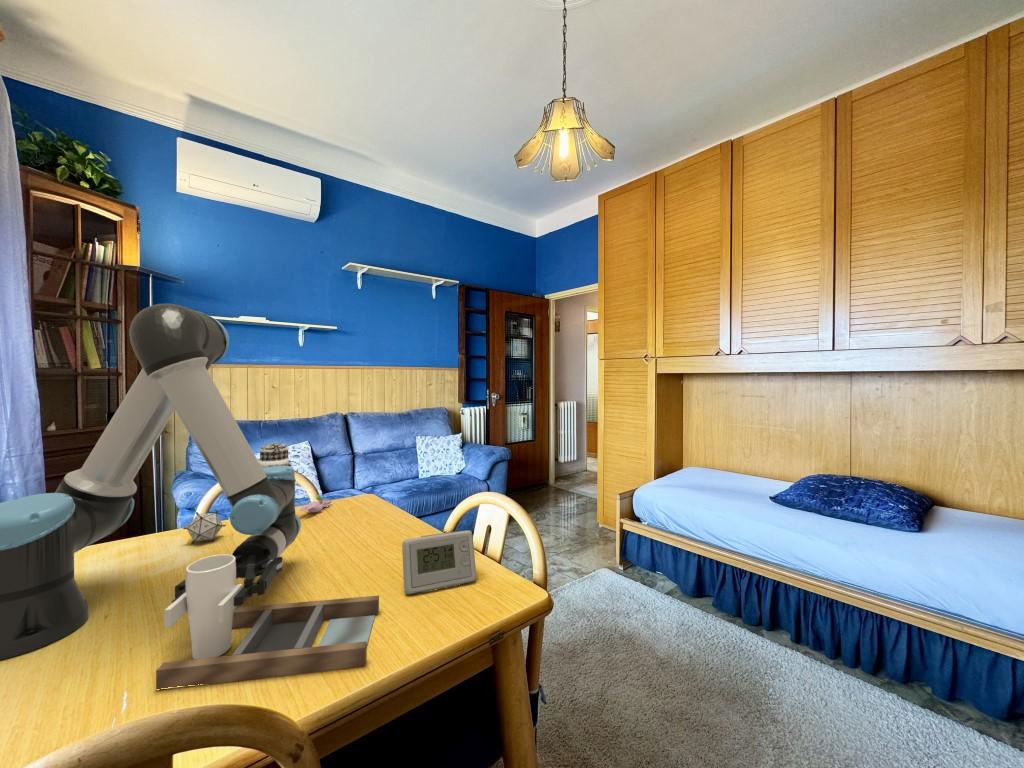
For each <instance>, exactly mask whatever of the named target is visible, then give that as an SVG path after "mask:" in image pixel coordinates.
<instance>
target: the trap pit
mask: <svg viewBox="0 0 1024 768" xmlns="http://www.w3.org/2000/svg"><path fill="white" fill-rule="evenodd" d="M323 622H324V620H323V605H317V606H316V607H315V609H314V611H313V613H312V615H311V617H310V619H309V621H298V622H287V623H277V624H272V609H271V610H265V611H264V612H263V614H262V615H261V616H260V618H259V619H258V620H257V622H256V623H255V625H254V626H253V627H251V628H250V630H249V631H248V633H246V635H245V637H243V639H242V641H241V642H240V644H239V645H238V646H237V647H236V649H235V650H234V652H233V653H232V654H231V656H232V655H241V654H251V653H260V652H270V651H279V650H289V649H298V648H308V647H313V644H314V642H315V639H316V638H317V636H318V633H319V631H320V629H321V627H322V625H323Z"/></svg>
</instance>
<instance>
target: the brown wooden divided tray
mask: <svg viewBox="0 0 1024 768" xmlns="http://www.w3.org/2000/svg"><path fill="white" fill-rule="evenodd" d="M317 605H323V621H329V622H328V623H327V626H326V628H325V630H324V633H323V634H322V638H321V639H320V642H319V644H318V646H311V647H308V648H298V649H289V650H279V651H270V652H260V653H251V654H241V655H232V654H231V655H225V656H224V655H221V656H219V657H213V658H203V659H186V660H178V661H177V660H176V661H166V662H163V663H162V664H161V665H159V667H158V668H156V669H155V688H156V689H161V688H168V687H177V686H188V685H198V684H199V685H200V684H204V685H203V686H206V685H205V684H209V685H217V684H218V685H219V684H226V683H225V682H227V683H235V682H242V681H250V680H251V681H253V680H259V679H267V678H278V677H286V676H294V675H303V674H304V675H305V674H311V673H313V674H314V673H321V672H330V671H337V670H348V669H353V668H356V669H357V668H361V667H362V668H363V667H366V663H367V660H368V657H367V655H368V650H367V649H368V648H367V647H368V643H369V641H370V636H371V632H372V628H373V626H374V620H375V617H376V616H379V612H380V595H369V596H367V595H366V596H357V597H344V598H334V599H322V600H311V601H299V602H286V603H285V602H284V603H276V604H264V605H263V604H262V605H252V606H242V607H241V606H240V607H239V606H238V607H236V608H235V609H234V613H233V625H232V630H235V629H236V630H238V629H246V628H252V627H253V626H254V625H255V623H256V622H257V620H258V619H259V618H260V616H261V615H262V614H263V612H264V611H265V610H271V609H272V624H277V623H287V622H298V621H309V619H310V617H311V615H312V613H313V611H314V609H315V607H316V606H317ZM232 681H233V682H232ZM234 681H235V682H234ZM156 689H155V690H156Z"/></svg>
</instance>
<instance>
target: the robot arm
mask: <svg viewBox="0 0 1024 768" xmlns="http://www.w3.org/2000/svg"><path fill="white" fill-rule="evenodd" d="M128 332H129V333H128V335H129V340H130V341H129V342H130V345H131V347H132V350H133V352H134V354H135V356H136V358H137V360H138V362H139V364H140V366H141V367H142V368H141V371H140V372H139V374H138V375H137V377H136V379H135V380H134V382H133V383H132V384H131V386H130V388H129V390H128V391H127V393H126V395H125V396H124V397H123V399H122V401H121V403H120V405H119V406H118V408H117V409H116V411H115V412H114V414H113V416H112V417H111V419H110V421H109V423H108V424H107V425H106V427H105V429H104V430H103V432H102V433H101V435H100V437H99V438H98V440H97V442H96V444H95V446H94V447H93V449H92V450H91V452H90V454H89V455H88V457H87V458H86V460H85V461H84V462H83V465H82V467H81V468H78V469H75V470H73V471H70V472H68V473H66V474H65V476H64V477H63V479H62V480H61V482H60V483H59V485H58V487H57V488H56V490H55V491H54V492H47V493H46V492H45V493H38V494H32V495H26V496H22V497H21V496H20V498H16V499H9V500H5V501H2V502H0V661H2V660H5V659H9V658H13V657H16V656H21V655H23V654H26V653H29V652H32V651H34V650H38V649H39V648H43V647H45V646H47V645H50V644H53V643H55V642H57V641H58V640H61V639H62V638H64V637H66V636H68V635H69V634H71V633H73V632H74V631H76V630H77V629H79V628H81V626H83V625H84V624H85V623H86V622H87V620H88V618H89V604H88V601H87V600H86V599H85V598H84V596H83V593H82V591H81V588H80V587H79V585H78V583H77V582H76V578H75V553H77V552H80V551H81V550H82V549H84V548H86V547H89V546H90V545H92V544H94V543H96V542H97V541H100V540H101V539H103V538H106V537H108V536H109V535H111V534H113V533H114V532H116V531H117V530H118V529H119V528H121V527H122V526H123V525H124V524H125V523H126V522H127V521H128V520H129V518H130V517H131V515H132V513H133V511H134V507H135V499H134V498H133V497H134V495H135V494H136V493H137V489H138V486H137V484H136V482H135V481H134V479H135V477H136V476H137V474H138V473H139V470H140V469H141V467H142V465H143V464H144V463H145V461H146V459H147V458H148V456H149V454H150V452H151V451H152V449H153V447H154V445H155V444H156V442H157V441H158V439H159V437H160V435H161V434H162V432H163V430H164V429H165V427H166V426H167V424H168V422H169V421H170V418H171V417H172V416H173V414H174V412H176V413H177V415H178V416H179V418H180V419H181V422H182V423H183V425H184V427H185V429H186V430H187V432H188V434H189V435H190V438H191V439H192V441H193V442H194V444H195V446H196V448H197V449H198V451H199V452H200V455H202V458H203V459H204V462H205V463H206V464H207V466H208V467H209V470H210V471H211V473H212V475H213V477H214V478H215V480H216V482H217V483H218V485H219V487H220V488H221V490H222V492H223V494H224V495H225V497H226V499H227V501H228V503H229V504H230V506H231V511H230V514H229V522H230V525H231V527H232V528H233V529H234V530H235V531H236V532H238V533H240V534H241V535H246V536H248V537H246V539H245V540H244V541H242V542H241V543H240V544H239V545H238V546H236V547H235V549H234V550H233V552H232V554H231V555H233V556H235V558H236V580H238V579H243V583H238V584H236V587H235V588H234V589H233V590H232V591H231V592H230V593H229V594H228V595H227V596H226V597H225V598H224V599H223V600H222V601H221V602H220V604H219V605H218V623H220V622H224V621H225V619H226V618H227V617H228V616H229V615H230V614H231V613H232V611H233V610H234V609H235V608H238V607H239V606H240V607H241V606H242V605H243V604H245V602H246V601H247V600H248V599H250V598H251V597H253V595H255V594H257V596H263V595H265V594H266V592H267V590H268V589H269V587H270V585H271V584H272V583H273V581H274V579H275V578H276V576H277V575H278V574H279V573H281V572H282V571H283V556H281V555H282V554H283V553H284V551H285V550H286V549H287V548H288V547H289V546H290V545H292V544H293V543H294V542H295V540H296V539H297V537H298V535H299V533H300V531H301V529H302V528H301V527H302V524H301V523H302V522H301V520H300V518H299V517H298V515H297V514H296V482H297V480H296V473H295V468H294V467H292V466H271V467H266V468H263V469H262V467H261V465H260V463H259V460H258V458H257V456H256V454H255V453H254V450H253V449H252V447H251V446H250V444H249V443H248V440H247V438H246V437H245V435H244V433H243V430H241V428H240V426H239V424H238V423H237V420H236V418H235V417H234V415H233V413H232V412H231V410H230V408H229V407H228V404H227V402H226V401H225V399H224V397H223V396H222V394H221V393H220V391H219V389H218V387H217V385H216V384H215V381H214V379H213V378H212V376H211V375H210V372H209V369H210V368H211V366H212V365H213V364H216V363H217V362H219V361H220V360H221V359H222V358H224V356H225V355H226V354H227V352H228V350H229V348H230V347H229V346H230V335H229V333H228V331H227V329H226V328H225V327H224V325H223V324H222V323H221V322H220V321H218V320H217V319H216V318H215V317H212V316H210V315H209V314H207V313H204V312H202V311H197V310H194V309H192V308H188V307H185V306H183V305H179V304H174V303H157V304H153V305H152V304H151V305H150V306H147V307H146V308H142V310H140V311H139V312H138V313H137V314H136V315H135V316H134V317H133V319H132V321H131V322H130V325H129V330H128ZM257 577H258V579H257V581H256V578H257ZM166 607H167V608H165V609H164V628H165V629H166V628H171V627H172V626H173V625H174V624H175V623H176V622H178V620H180V619H181V618H182V616H184V615H185V614H186V613H188V610H187V602H186V591H185V579H183V580H182V581H181V582H179V583H178V584H177V585H175V586H174V599H173V600H172V601H171V604H169V606H166Z"/></svg>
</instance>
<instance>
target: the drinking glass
mask: <svg viewBox="0 0 1024 768" xmlns="http://www.w3.org/2000/svg"><path fill="white" fill-rule="evenodd" d="M184 580H185V591H186V602H187V610H188V611H187V617H188V626H189V632H190V633H189V634H190V643H191V657H192V660H194V659H203V658H213V657H222V656H223V654H225V653H227V651H229V650H230V649H231V646H232V645H233V636H232V635H233V629H232V625H233V613H234V610H233V611H232V613H231V614H230V615H229V616H228V617H227V618H226V619H225V621H224V622H220V623H218V605H219V604H220V602H221V601H222V600H223V599H224V598H225V597H226V596H227V595H228V594H229V593H230V592H231V591H232V590H233V589H234V588H235V587H236V586H237V579H236V558H235V556H233V555H232V554H228V553H225V554H222V553H221V554H214V555H213V554H212V555H210V556H205V557H201V558H198V559H197V560H194V561H192V562H191V563H190V564H188V565H187V566H186V567H185V579H184Z"/></svg>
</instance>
